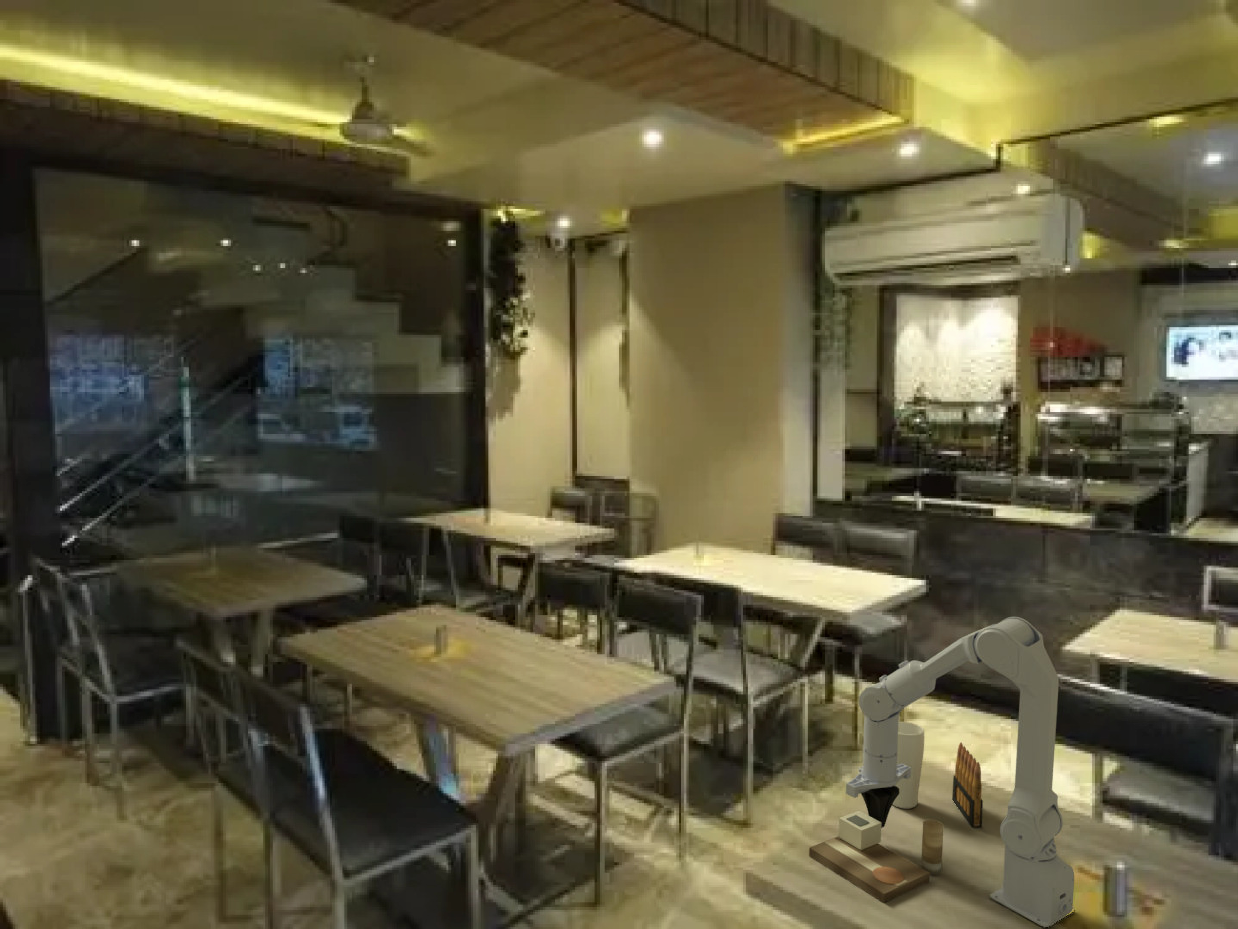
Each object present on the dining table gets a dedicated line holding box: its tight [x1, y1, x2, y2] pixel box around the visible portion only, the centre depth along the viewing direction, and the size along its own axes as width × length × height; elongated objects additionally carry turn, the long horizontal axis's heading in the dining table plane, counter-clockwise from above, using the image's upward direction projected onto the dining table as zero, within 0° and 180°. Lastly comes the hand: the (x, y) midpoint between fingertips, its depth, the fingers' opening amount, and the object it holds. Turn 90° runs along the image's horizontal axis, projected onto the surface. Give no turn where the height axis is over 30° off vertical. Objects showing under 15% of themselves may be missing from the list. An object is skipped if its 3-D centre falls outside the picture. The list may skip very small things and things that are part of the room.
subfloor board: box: [808, 835, 931, 904], centre depth 147 cm, size 16×11×2 cm
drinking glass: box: [892, 721, 925, 810], centre depth 169 cm, size 7×7×15 cm
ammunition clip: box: [951, 742, 984, 829], centre depth 165 cm, size 11×2×12 cm, turn 178°
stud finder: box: [838, 810, 882, 850], centre depth 152 cm, size 5×5×4 cm
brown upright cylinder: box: [920, 819, 945, 877], centre depth 146 cm, size 3×3×8 cm
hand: (877, 825), depth 155 cm, fingers closed
